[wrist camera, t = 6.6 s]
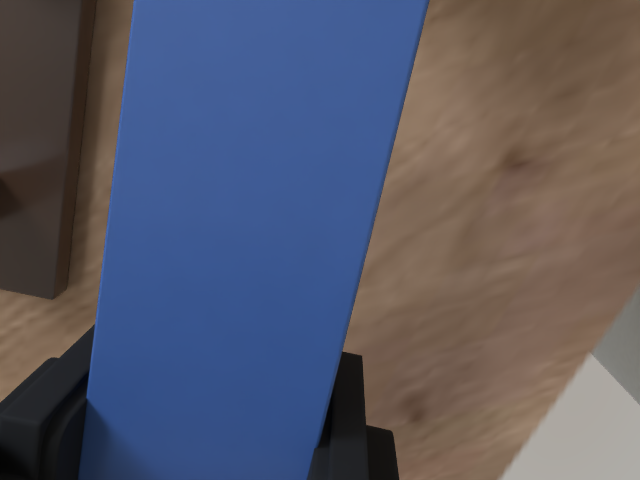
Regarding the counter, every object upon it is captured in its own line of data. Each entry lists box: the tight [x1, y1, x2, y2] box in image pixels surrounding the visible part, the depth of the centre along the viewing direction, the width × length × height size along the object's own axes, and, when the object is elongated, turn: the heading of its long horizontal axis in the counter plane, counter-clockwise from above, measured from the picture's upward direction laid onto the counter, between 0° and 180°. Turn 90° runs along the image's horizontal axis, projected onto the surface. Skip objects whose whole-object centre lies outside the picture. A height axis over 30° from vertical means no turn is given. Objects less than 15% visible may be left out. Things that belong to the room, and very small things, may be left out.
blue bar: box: [78, 0, 429, 480], centre depth 10 cm, size 3×16×3 cm, turn 168°
